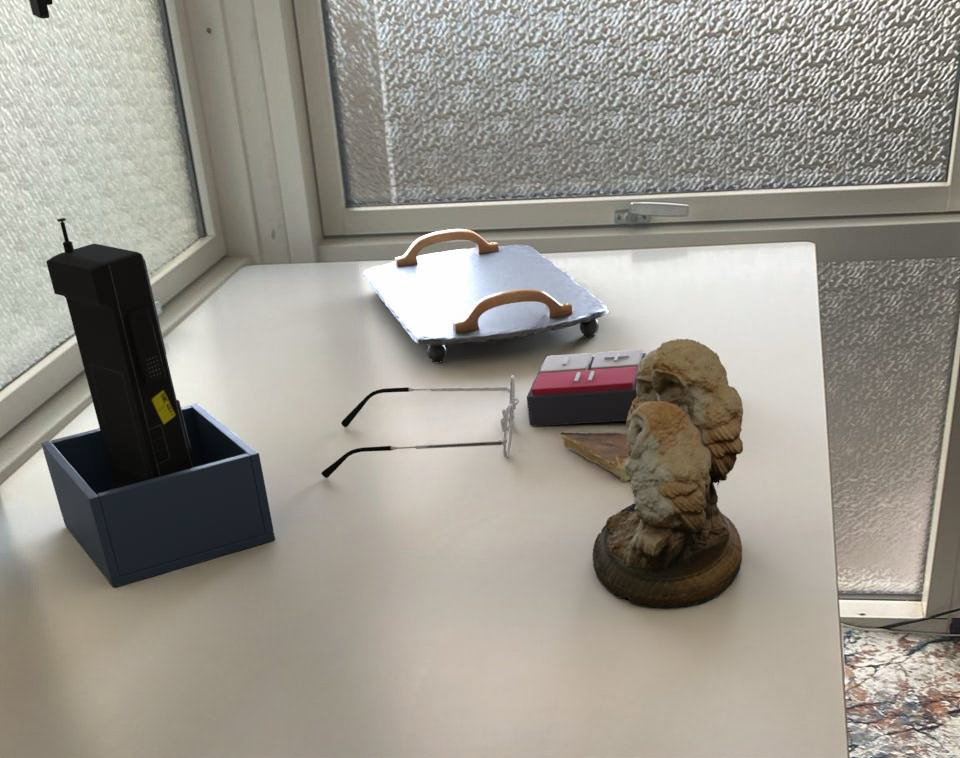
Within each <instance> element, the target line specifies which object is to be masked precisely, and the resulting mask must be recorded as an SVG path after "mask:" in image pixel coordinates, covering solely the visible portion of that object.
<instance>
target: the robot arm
mask: <svg viewBox="0 0 960 758" xmlns="http://www.w3.org/2000/svg"><path fill="white" fill-rule="evenodd" d="M28 1H29V5H30V9H31V13H32V15H33V16H34V17H36V18H40V19H43V20H44V19H49V18H50V12H49V7H48V6H51V5H53V2H54V1H53V0H28Z"/></svg>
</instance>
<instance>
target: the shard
mask: <svg viewBox="0 0 960 758" xmlns="http://www.w3.org/2000/svg"><path fill="white" fill-rule="evenodd" d="M559 435H560V436H561V438H562V439H563V446H564V448H565V449H569V450H571V451H572V452H573V453H576V454H579V455H581V456H582V457H584V458H585V459H587V460H588V461H590V462H591V463H594V464H596V465H598V466H600V467H601V468H602V469H604V470H606V471H608V472H610V473H612V474H614V475H615V476H616V477H618V478H619V479H620V481H621V482H623V483H627V482H629V481H631V479H630V476H629V475H627V473H626V471H625V466H624V465H625V462H626V460H627V459H628V458H629V453H628V445H627V432H626V433H625V432H565V431H564V432H563V431H561V432H559Z"/></svg>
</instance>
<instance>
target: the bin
mask: <svg viewBox="0 0 960 758" xmlns="http://www.w3.org/2000/svg"><path fill="white" fill-rule="evenodd" d="M181 410H182V414H183V418H184V422H185V426H186V430H187V434H188V438H189V442H190V446H191V450H192V454H193V458H194V461H195V465H196V467H194V468H190V469H187V470H183V471H179V472H176V473H172V474H168V475H165V476H161V477H157V478H153V479H150V480H146V481H142V482H139V483H135V484H131V485H128V486H124V487H120V488H116V489H113V490H110V489H111V487H112V481H113V478H112V474H111V470H110V466H109V462H108V458H107V454H106V450H105V446H104V443H103V439H102V435H101V431H100V427H98V428H94V429H91V430H87V431H83V432H79V433H74V434H71V435H67V436H62V437H59V438H55V439H51V440H48V441H43V442H41V444H40V445H41V448H42V451H43V455H44V458H45V462H46V465H47V468H48V471H49V476H50V479H51V482H52V485H53V489H54V492H55V496H56V500H57V503H58V506H59V510H60V513H61V516H62V520H63V523H64V526H65V527H66V529H67V530H68V531H69V532H70V534H71V535H72V536H73V537H74V539H75V540H76V541H77V543H78V544H79V545H80V547H81V548H82V550H83V551H84V552H85V553H86V554H87V556H88V557H89V559H90V560H91V561H92V562H93V563H94V565H95V566H96V567H97V568H98V570H99V571H100V572H101V574H102V575H103V576H104V578H105V579H106V580H107V581H108V583H109V584H110V586H111V587H112V588H114V587H115V588H118V587H121V586H125V585H128V584H131V583H134V582H137V581H141V580H144V579H148V578H152V577H155V576H158V575H162V574H164V573H169V572H172V571H175V570H178V569H182V568H185V567H189V566H192V565H196V564H199V563H202V562H206V561H209V560H212V559H215V558H219V557H223V556H225V555H229V554H232V553H236V552H239V551H242V550H245V549H249V548H252V547H253V548H254V547H256V546H260V545H263V544H266V543H270V542H272V541H275V540H276V536H275V531H274V526H273V519H272V515H271V514H272V513H271V510H270V505H269V504H270V503H269V500H268V494H267V488H266V484H265V483H266V482H265V477H264V472H263V467H262V462H261V457H260V453H259V452H258V451H257V450H255V449H254V448H253V447H252V446H250V444H249V443H247V442H246V441H244V440H243V439H242V438H241V437H240V436H239V435H237V434H236V433H235V432H233V430H231V429H230V428H228V427H227V426H226V425H225V424H224V423H223V422H221V421H220V420H218V418H216V417H215V416H213V415H212V414H211V413H210V412H209V411H208V410H207V409H205V408H204V407H203V406H201V405H200V404H199V403H194V404H190V405H186V406H181Z"/></svg>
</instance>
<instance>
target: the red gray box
mask: <svg viewBox="0 0 960 758" xmlns="http://www.w3.org/2000/svg"><path fill="white" fill-rule="evenodd" d="M653 350H654V349H653ZM653 350H652V349H651V350H647V351H646V352H643V350H642V349H638V348H637V349H625V350H611V351H598V352H596V353H595V355H594V356H592V353H591V352H585V353H584V352H583V353H571V354H555V355H547V356H546V357H545V359H544V360H543V361H542V363H541V365H540V367H539V369H538V372H537V374H536V376H535V378H534V380H533V382H532V384H531V387H530V388H529V391H528V393H527V395H526V404H527V412H528V413H527V414H528V421H529V425H530V427H543V426H559V425H574V424H575V425H576V424H591V423H607V422H626V421H627V417H628V412H629V410H630V409H631V406H632V402H633V400H634V399H635V398H636V396H637V394H636V384H637V379H636V377H637V370H638V368H639V366H640V361H641V360H642V359H643V358H644V357H645V356H646V355H647V354H648V353H649V352H652V351H653Z"/></svg>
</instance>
